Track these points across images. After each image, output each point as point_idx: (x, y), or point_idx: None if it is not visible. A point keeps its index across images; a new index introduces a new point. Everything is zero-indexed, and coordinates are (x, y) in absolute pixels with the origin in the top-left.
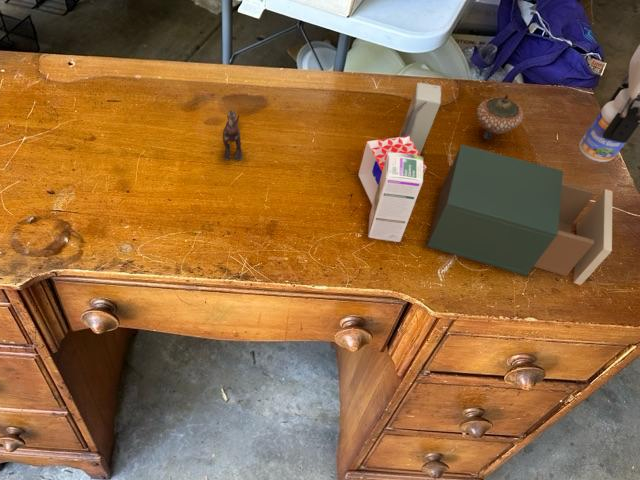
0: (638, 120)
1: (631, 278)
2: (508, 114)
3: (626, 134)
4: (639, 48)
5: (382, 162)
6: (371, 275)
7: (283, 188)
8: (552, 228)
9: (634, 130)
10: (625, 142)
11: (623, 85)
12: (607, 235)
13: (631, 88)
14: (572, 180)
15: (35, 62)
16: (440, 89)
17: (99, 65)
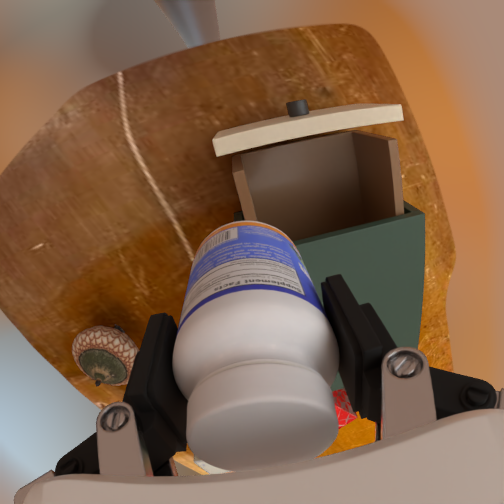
0: (435, 371)
1: (278, 32)
2: (112, 359)
3: (377, 315)
4: None
5: (340, 424)
6: (435, 328)
7: (355, 425)
8: (416, 226)
9: (359, 308)
10: (275, 252)
11: (172, 457)
12: (365, 117)
13: None
14: (105, 187)
15: None
16: (202, 461)
17: None
